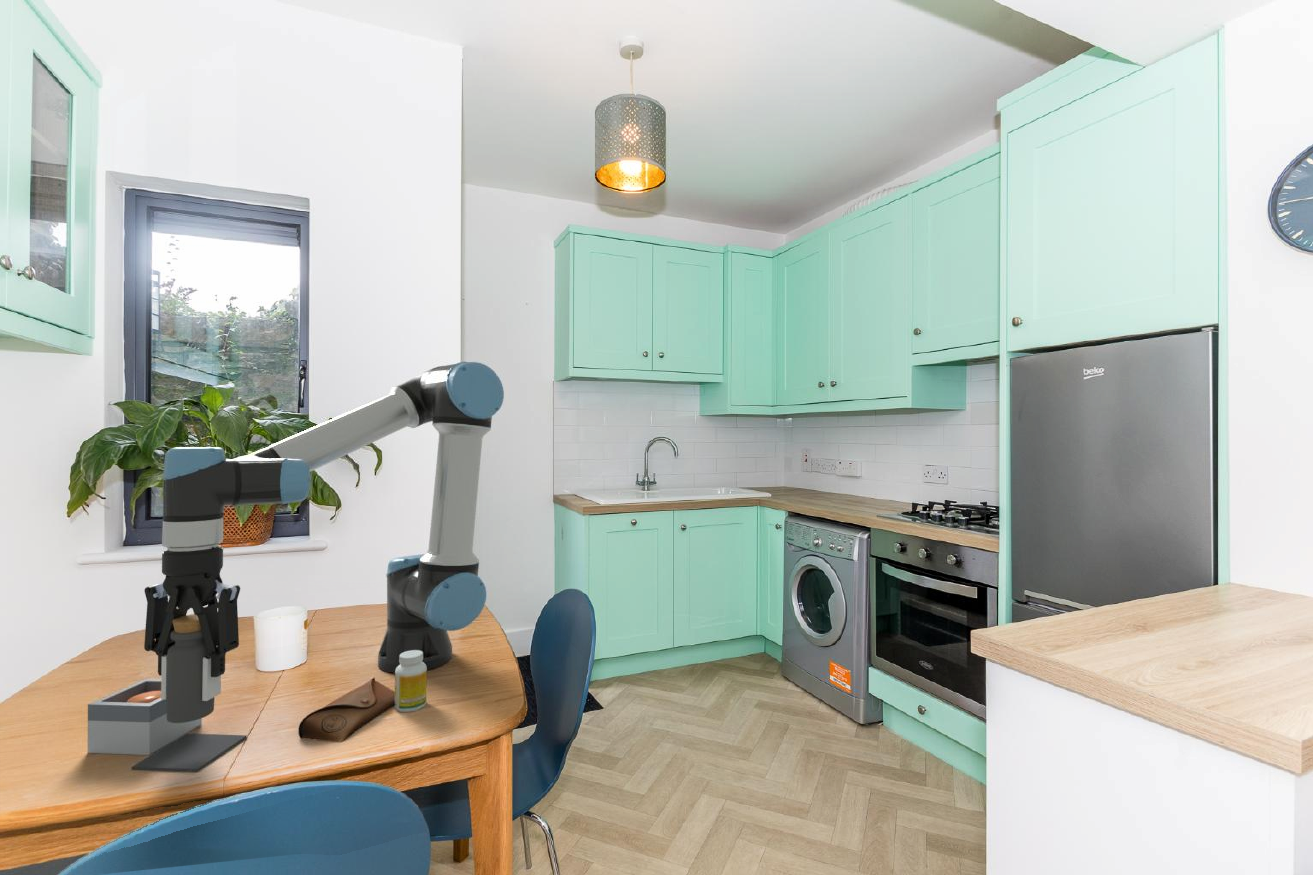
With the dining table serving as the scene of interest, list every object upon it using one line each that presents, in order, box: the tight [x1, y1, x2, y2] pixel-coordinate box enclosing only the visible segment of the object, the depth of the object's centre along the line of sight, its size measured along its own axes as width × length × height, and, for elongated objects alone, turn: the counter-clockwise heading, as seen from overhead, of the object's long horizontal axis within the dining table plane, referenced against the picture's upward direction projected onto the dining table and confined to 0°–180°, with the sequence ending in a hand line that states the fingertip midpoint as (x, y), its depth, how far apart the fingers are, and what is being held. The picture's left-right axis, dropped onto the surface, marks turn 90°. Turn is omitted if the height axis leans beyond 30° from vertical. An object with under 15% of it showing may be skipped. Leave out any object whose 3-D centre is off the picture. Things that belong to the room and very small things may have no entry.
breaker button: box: [127, 691, 161, 703], centre depth 98 cm, size 5×5×6 cm
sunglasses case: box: [297, 677, 395, 743], centre depth 106 cm, size 18×7×7 cm
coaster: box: [131, 733, 248, 773], centre depth 93 cm, size 10×10×1 cm
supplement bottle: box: [394, 650, 428, 713], centre depth 110 cm, size 5×5×10 cm
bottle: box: [167, 613, 215, 723], centre depth 93 cm, size 6×6×15 cm
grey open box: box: [87, 678, 203, 756], centre depth 98 cm, size 10×10×8 cm
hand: (191, 696), depth 93 cm, fingers closed on bottle, 6 cm apart
